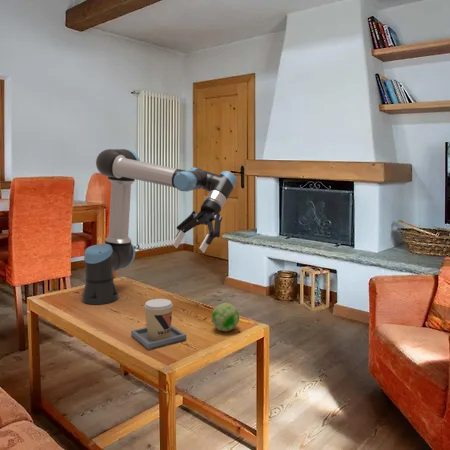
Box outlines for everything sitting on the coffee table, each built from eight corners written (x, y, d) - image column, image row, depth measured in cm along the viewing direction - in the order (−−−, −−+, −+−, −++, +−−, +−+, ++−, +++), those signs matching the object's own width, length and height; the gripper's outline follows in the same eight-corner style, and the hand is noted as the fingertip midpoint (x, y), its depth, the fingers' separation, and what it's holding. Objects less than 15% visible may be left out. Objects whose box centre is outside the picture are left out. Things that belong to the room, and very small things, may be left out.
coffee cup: (158, 344, 151) (157, 309, 149) (139, 336, 157) (138, 303, 155) (178, 335, 158) (178, 302, 156) (160, 329, 164) (159, 296, 162)
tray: (131, 336, 159) (131, 330, 159) (167, 327, 167) (167, 322, 167) (148, 350, 148) (148, 344, 148) (186, 340, 156) (186, 334, 155)
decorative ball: (222, 323, 171) (221, 297, 170) (244, 329, 166) (244, 302, 164) (206, 331, 163) (205, 304, 162) (229, 338, 158) (229, 310, 156)
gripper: (242, 213, 176) (218, 258, 166) (194, 208, 191) (169, 249, 182) (234, 200, 171) (208, 246, 161) (185, 196, 186) (159, 238, 177)
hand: (187, 248), depth 172 cm, fingers open, 13 cm apart
